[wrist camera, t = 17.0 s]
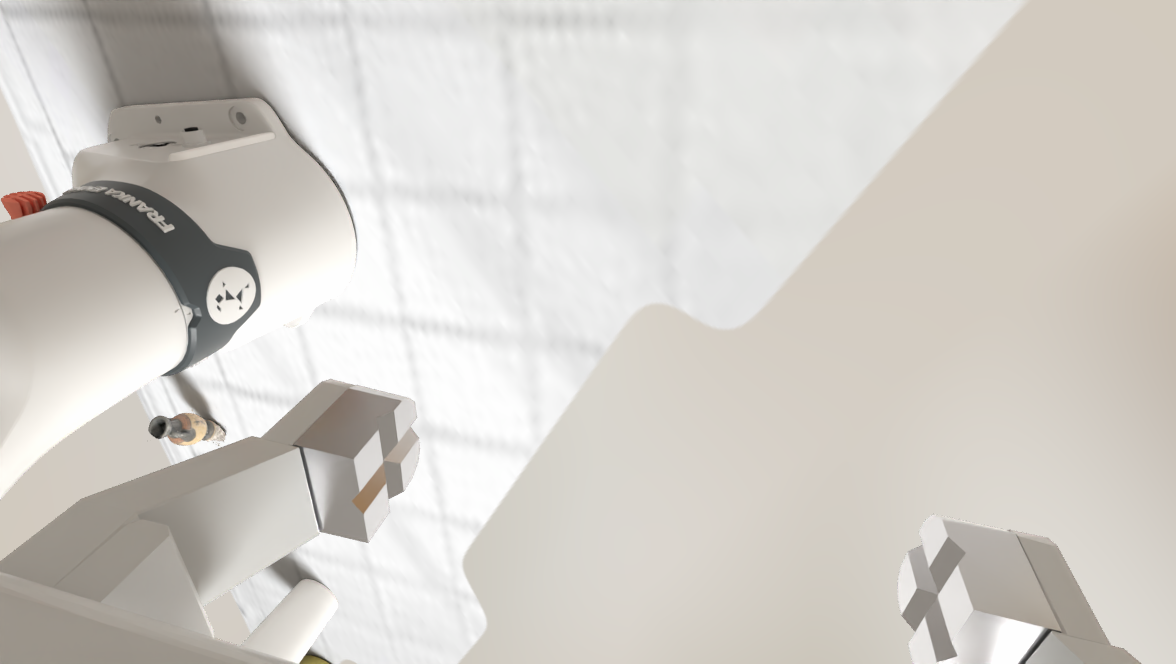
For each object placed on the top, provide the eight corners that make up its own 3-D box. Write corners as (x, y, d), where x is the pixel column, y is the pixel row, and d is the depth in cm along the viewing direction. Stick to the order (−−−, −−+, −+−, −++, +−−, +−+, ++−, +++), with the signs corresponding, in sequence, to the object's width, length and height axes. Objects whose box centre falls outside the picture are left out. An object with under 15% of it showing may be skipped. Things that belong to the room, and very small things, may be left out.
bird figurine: (184, 382, 62) (133, 415, 57) (227, 402, 62) (179, 436, 57) (189, 419, 65) (141, 452, 60) (230, 438, 64) (184, 473, 60)
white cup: (286, 583, 76) (222, 656, 67) (312, 570, 72) (248, 645, 64) (323, 618, 77) (265, 694, 69) (350, 607, 73) (293, 685, 65)
